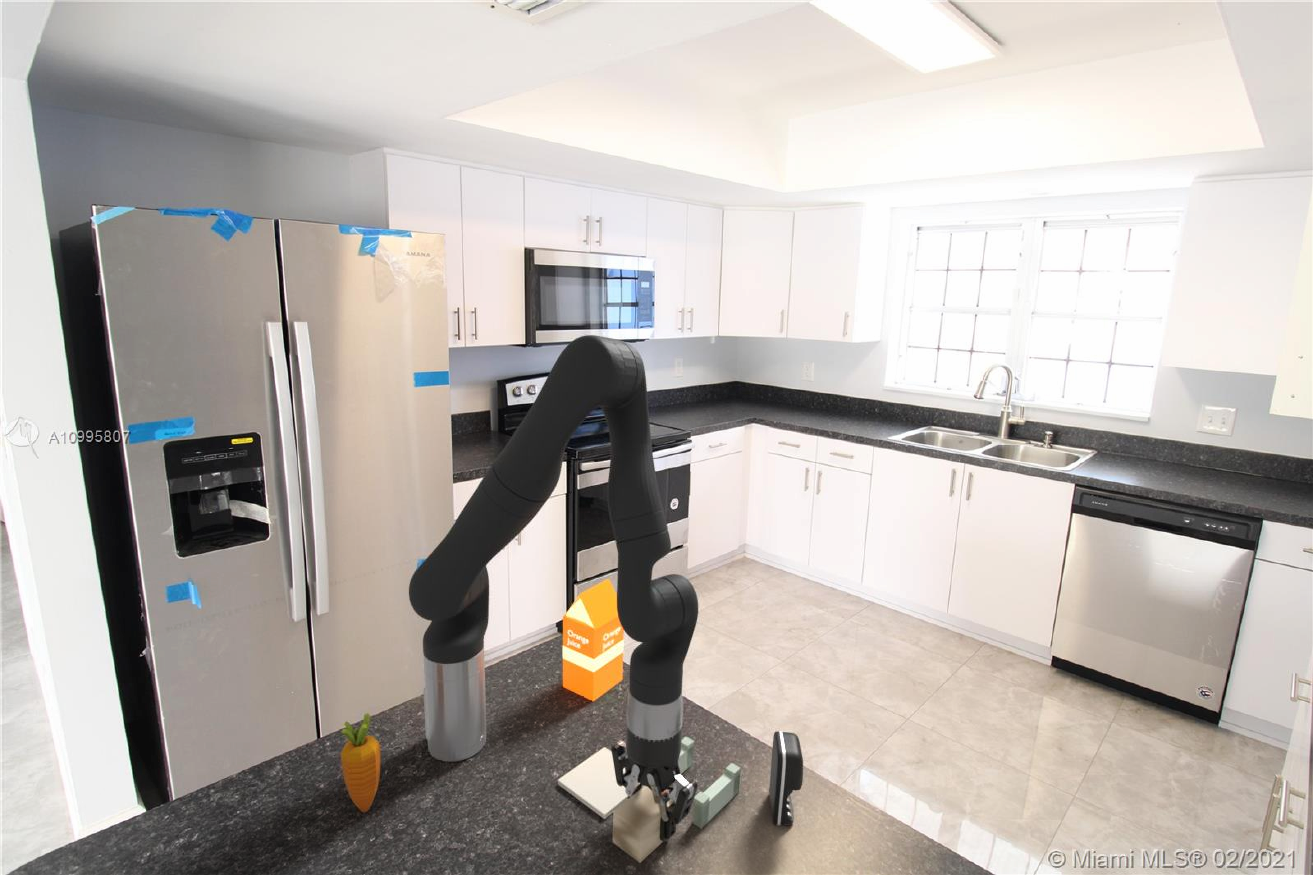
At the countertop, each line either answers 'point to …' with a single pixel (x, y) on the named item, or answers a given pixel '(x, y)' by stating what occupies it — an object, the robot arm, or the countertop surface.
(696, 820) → the rails
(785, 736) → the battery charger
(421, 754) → the countertop surface
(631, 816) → the block
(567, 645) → the orange juice
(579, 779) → the plate
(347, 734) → the carrot
